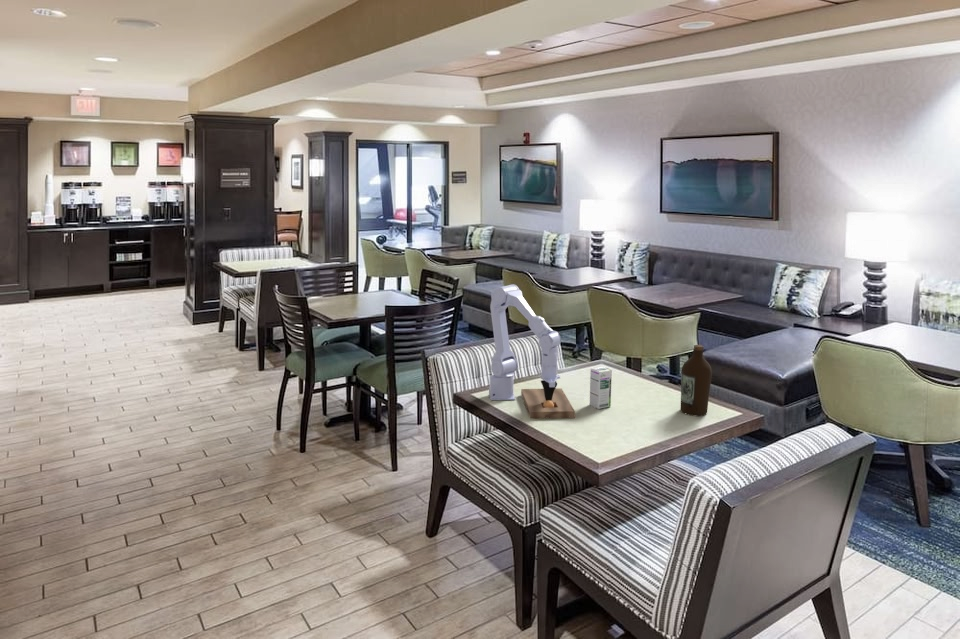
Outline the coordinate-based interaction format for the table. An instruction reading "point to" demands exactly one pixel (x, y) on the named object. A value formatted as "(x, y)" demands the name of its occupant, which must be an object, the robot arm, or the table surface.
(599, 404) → the syrup box
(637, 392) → the table surface
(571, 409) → the brown wooden flat board
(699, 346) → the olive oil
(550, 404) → the ball
